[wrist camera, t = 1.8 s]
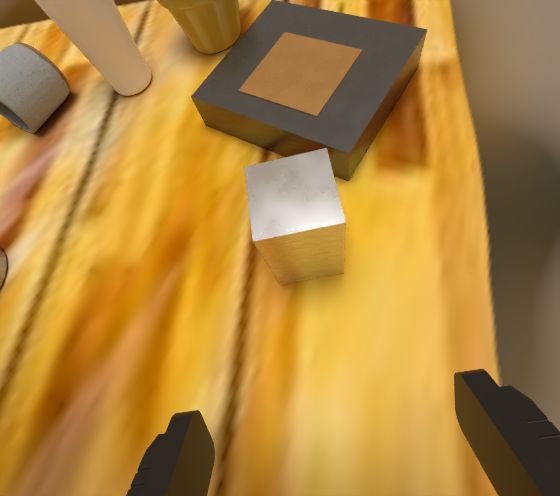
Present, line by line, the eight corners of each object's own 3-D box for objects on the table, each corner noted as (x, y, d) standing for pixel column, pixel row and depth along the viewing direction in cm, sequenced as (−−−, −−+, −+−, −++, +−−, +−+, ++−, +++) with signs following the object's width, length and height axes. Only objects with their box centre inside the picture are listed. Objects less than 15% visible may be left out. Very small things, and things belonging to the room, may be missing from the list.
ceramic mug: (86, 94, 42) (35, 37, 35) (46, 139, 40) (-16, 89, 33) (38, 80, 46) (-17, 26, 39) (-1, 121, 44) (-66, 72, 37)
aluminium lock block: (344, 273, 26) (345, 222, 18) (280, 285, 27) (252, 241, 18) (330, 214, 29) (325, 144, 20) (272, 226, 29) (243, 163, 21)
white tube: (142, 105, 39) (36, -40, 26) (102, 98, 41) (-16, -40, 28) (167, 67, 41) (82, -86, 28) (128, 62, 43) (30, -84, 30)
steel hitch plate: (205, 125, 36) (190, 95, 32) (278, 34, 40) (272, -2, 36) (348, 181, 30) (349, 152, 26) (417, 67, 34) (427, 28, 30)
